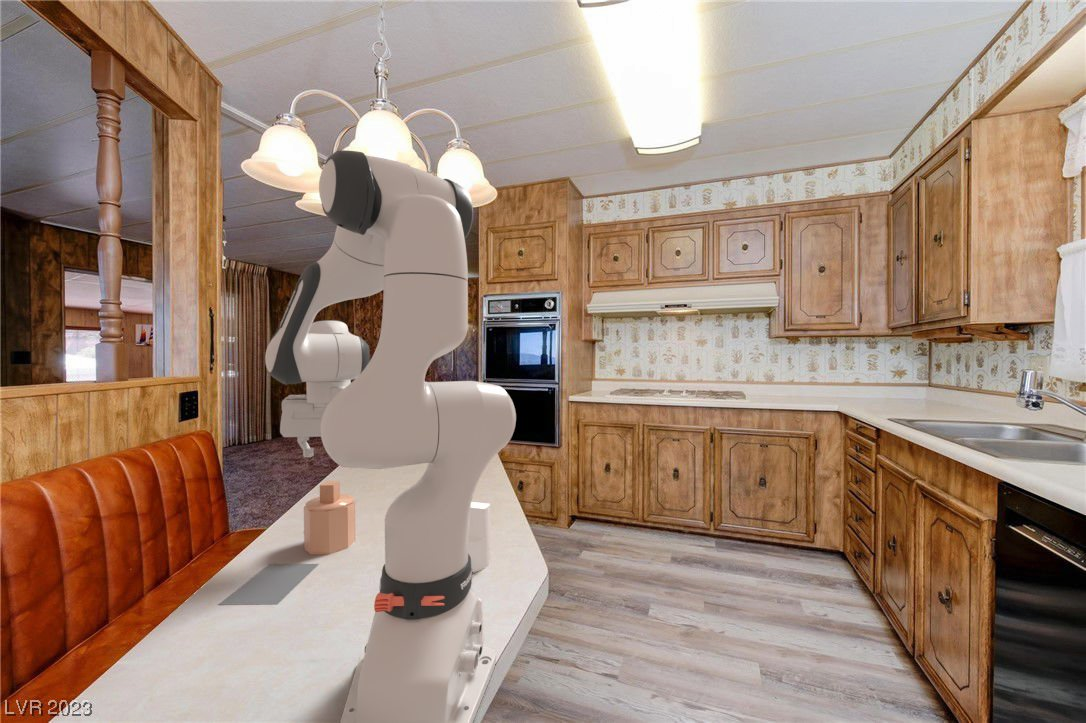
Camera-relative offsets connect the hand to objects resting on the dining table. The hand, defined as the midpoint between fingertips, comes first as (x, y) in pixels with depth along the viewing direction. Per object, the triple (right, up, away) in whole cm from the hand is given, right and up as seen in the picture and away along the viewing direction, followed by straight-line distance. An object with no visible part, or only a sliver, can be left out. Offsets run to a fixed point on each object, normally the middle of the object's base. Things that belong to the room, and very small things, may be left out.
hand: (329, 456), depth 95 cm
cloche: (0, -20, +1) cm, 20 cm away
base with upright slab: (+32, -21, -7) cm, 39 cm away
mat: (-3, -20, -15) cm, 26 cm away
